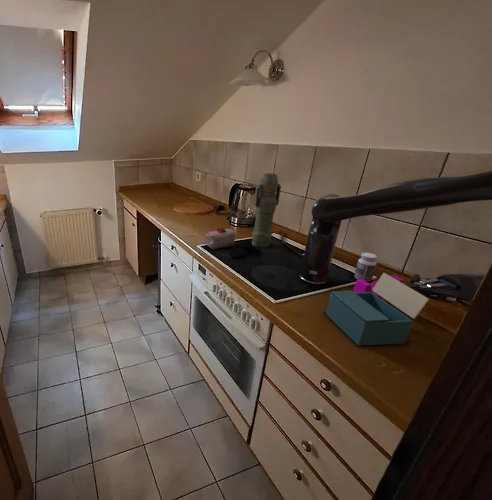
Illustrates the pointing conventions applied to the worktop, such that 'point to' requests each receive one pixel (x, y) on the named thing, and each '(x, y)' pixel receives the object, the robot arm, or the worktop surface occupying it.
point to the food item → (220, 238)
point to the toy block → (370, 286)
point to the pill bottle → (366, 267)
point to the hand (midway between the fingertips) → (402, 289)
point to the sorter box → (368, 318)
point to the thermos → (265, 209)
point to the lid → (400, 295)
